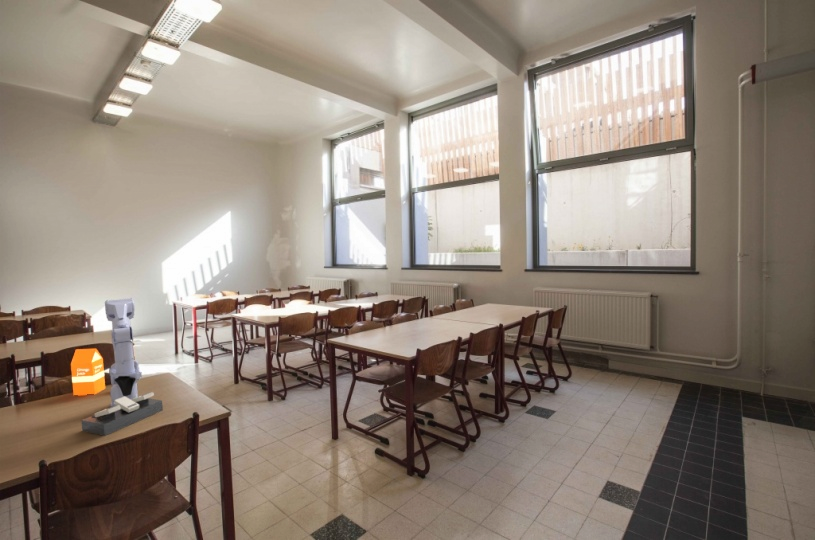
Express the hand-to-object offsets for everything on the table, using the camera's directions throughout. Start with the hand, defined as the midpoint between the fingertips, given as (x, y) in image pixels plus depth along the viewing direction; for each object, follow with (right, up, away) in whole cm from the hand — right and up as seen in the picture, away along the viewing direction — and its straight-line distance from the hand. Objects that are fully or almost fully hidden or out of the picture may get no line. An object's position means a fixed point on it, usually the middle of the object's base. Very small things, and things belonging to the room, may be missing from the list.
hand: (127, 395), depth 150 cm
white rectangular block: (+1, -4, +7) cm, 8 cm away
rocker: (-3, -5, -5) cm, 8 cm away
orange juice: (-40, -9, +32) cm, 52 cm away
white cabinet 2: (-1, -5, +1) cm, 5 cm away
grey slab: (-1, -10, +3) cm, 10 cm away
